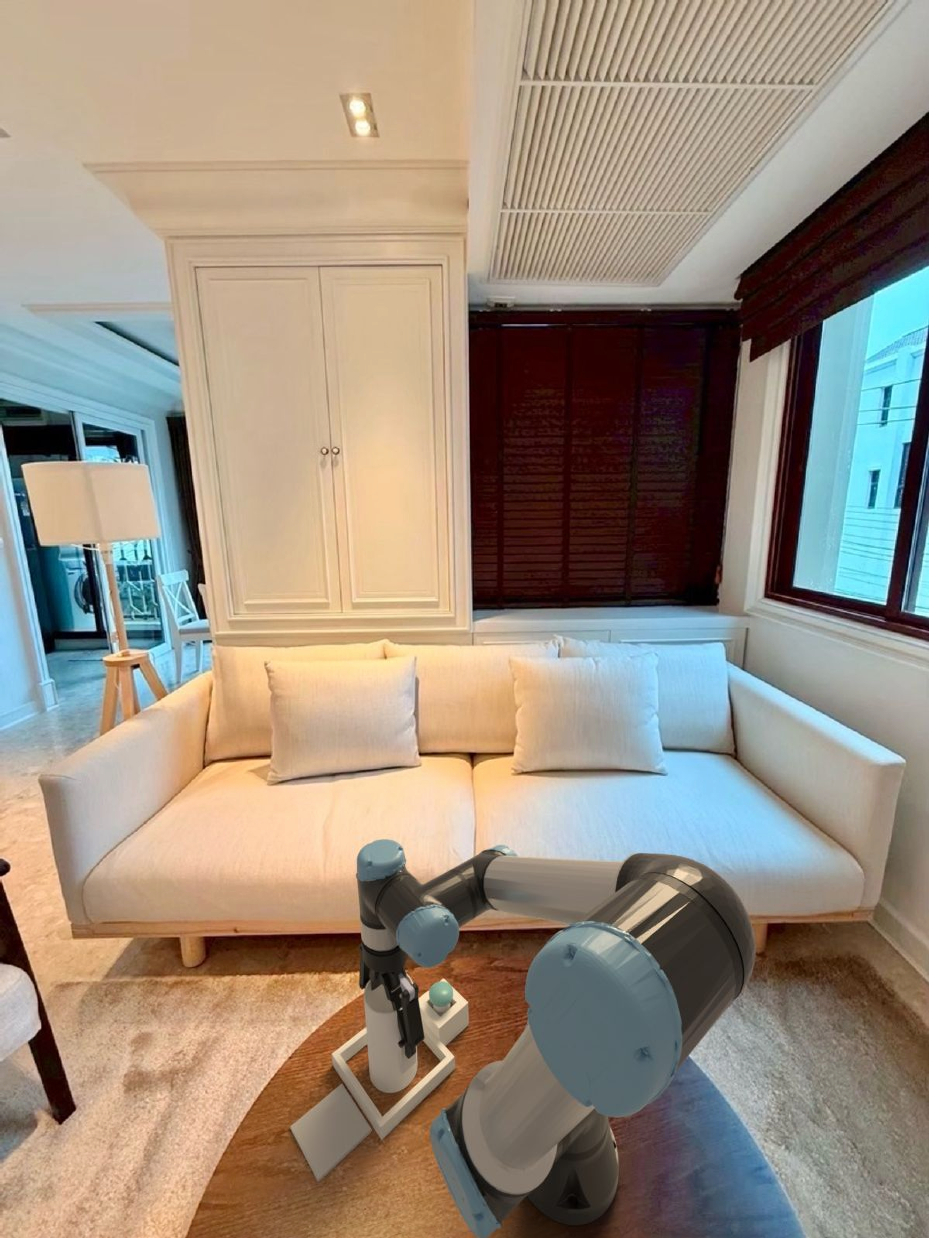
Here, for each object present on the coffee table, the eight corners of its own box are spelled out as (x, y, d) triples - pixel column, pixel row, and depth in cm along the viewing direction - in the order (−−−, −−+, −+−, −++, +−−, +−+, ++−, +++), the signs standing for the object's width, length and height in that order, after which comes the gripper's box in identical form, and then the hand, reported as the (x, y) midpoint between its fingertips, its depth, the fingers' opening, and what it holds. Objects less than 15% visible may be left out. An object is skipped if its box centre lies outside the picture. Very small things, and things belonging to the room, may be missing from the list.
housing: (483, 1040, 94) (483, 1017, 93) (381, 1139, 80) (379, 1114, 78) (431, 986, 105) (430, 965, 104) (332, 1065, 90) (330, 1041, 89)
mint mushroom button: (458, 1013, 96) (458, 992, 95) (440, 1029, 94) (439, 1007, 93) (443, 997, 100) (442, 977, 99) (425, 1012, 97) (424, 991, 96)
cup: (421, 1044, 93) (417, 970, 90) (412, 1095, 85) (408, 1015, 82) (376, 1040, 94) (371, 967, 91) (363, 1090, 86) (357, 1011, 83)
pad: (371, 1131, 81) (371, 1128, 81) (318, 1182, 75) (317, 1179, 75) (342, 1085, 87) (341, 1083, 87) (290, 1128, 81) (290, 1126, 81)
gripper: (445, 960, 79) (449, 1078, 84) (369, 888, 94) (376, 992, 99) (405, 991, 74) (412, 1114, 79) (332, 910, 89) (341, 1018, 94)
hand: (392, 1046), depth 89 cm, fingers closed on cup, 8 cm apart
